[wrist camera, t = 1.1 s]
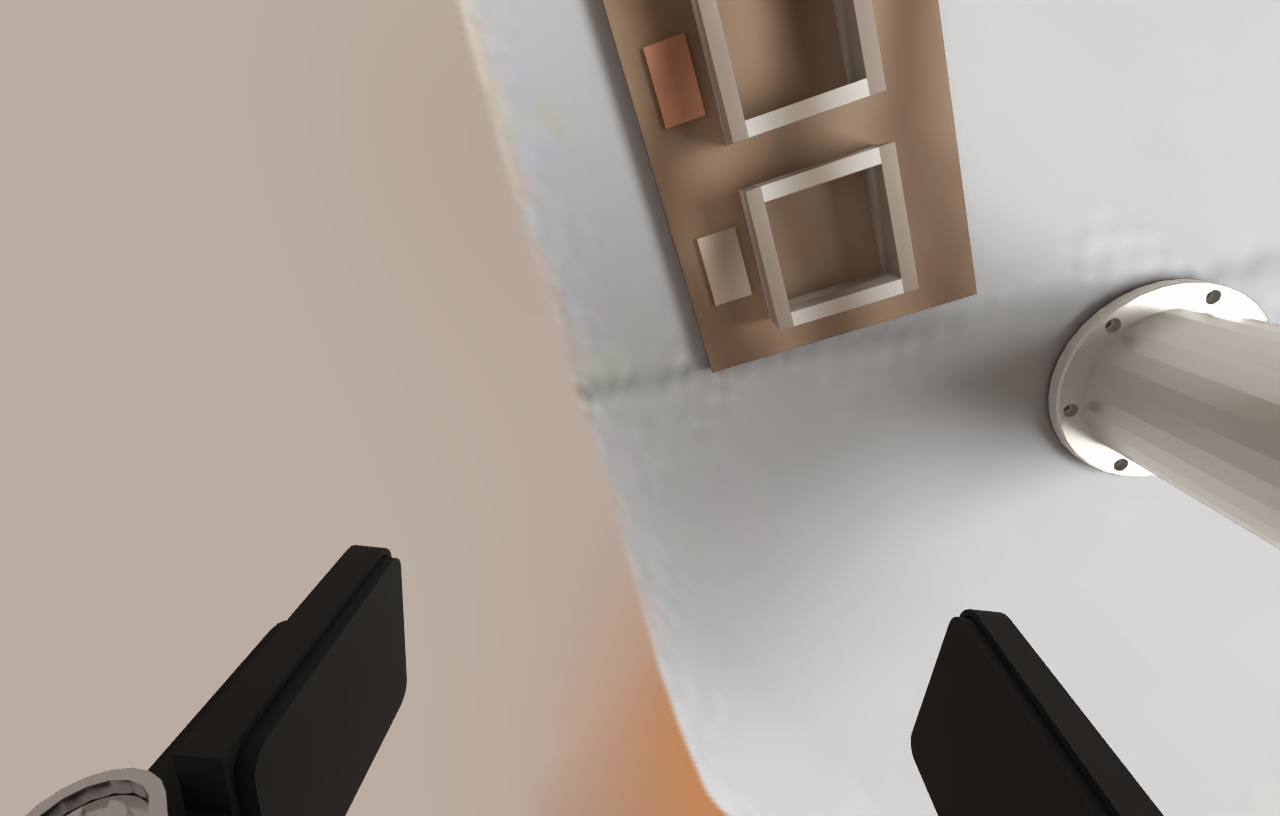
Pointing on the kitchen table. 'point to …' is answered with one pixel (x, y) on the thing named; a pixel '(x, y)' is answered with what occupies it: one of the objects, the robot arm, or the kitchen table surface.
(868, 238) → the socket board
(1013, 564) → the kitchen table surface
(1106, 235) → the kitchen table surface
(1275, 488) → the robot arm
